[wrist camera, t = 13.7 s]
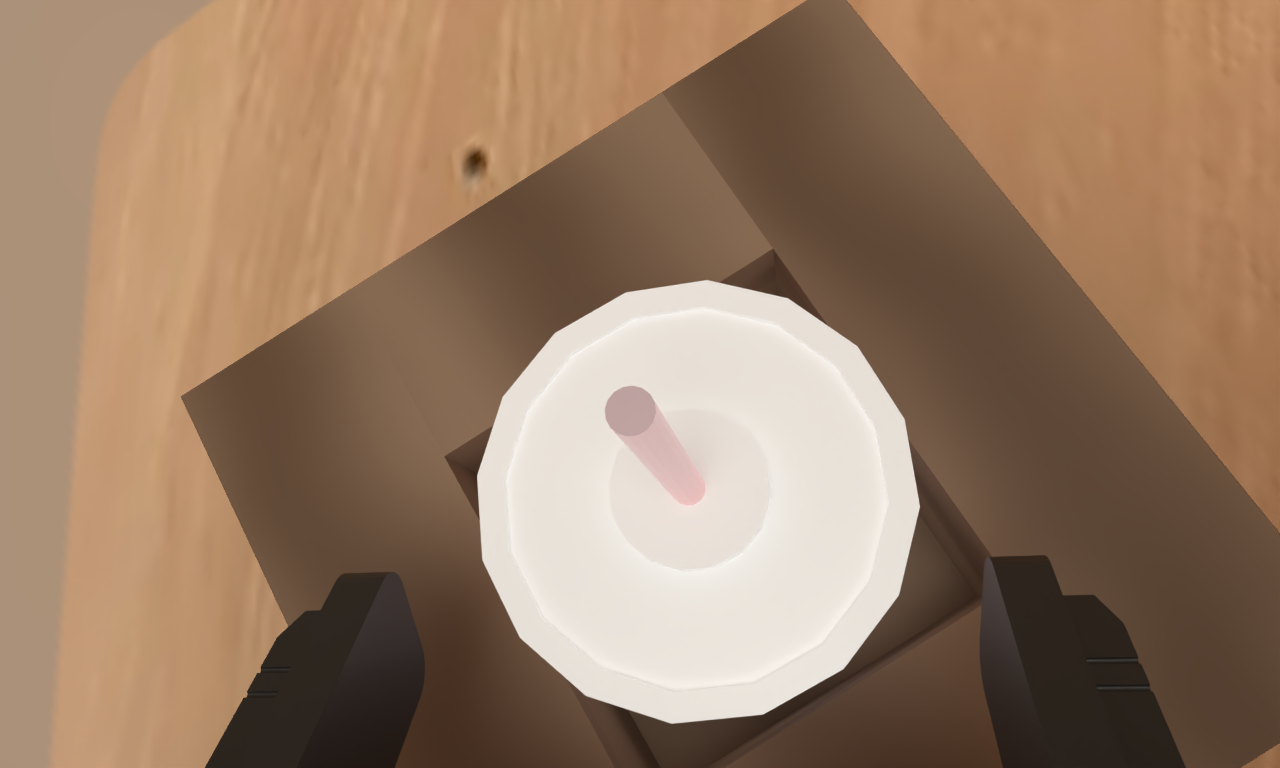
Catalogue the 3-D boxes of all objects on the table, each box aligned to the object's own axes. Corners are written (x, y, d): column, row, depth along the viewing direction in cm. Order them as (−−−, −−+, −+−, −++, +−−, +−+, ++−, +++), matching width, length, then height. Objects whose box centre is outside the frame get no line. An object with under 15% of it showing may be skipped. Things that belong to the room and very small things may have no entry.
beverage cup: (584, 678, 22) (258, 729, 9) (611, 406, 24) (363, 102, 10) (870, 707, 21) (977, 813, 8) (880, 421, 23) (987, 105, 9)
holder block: (828, 105, 26) (833, -17, 21) (1261, 666, 21) (1392, 672, 17) (295, 442, 26) (180, 396, 21) (612, 1074, 21) (556, 1198, 17)
